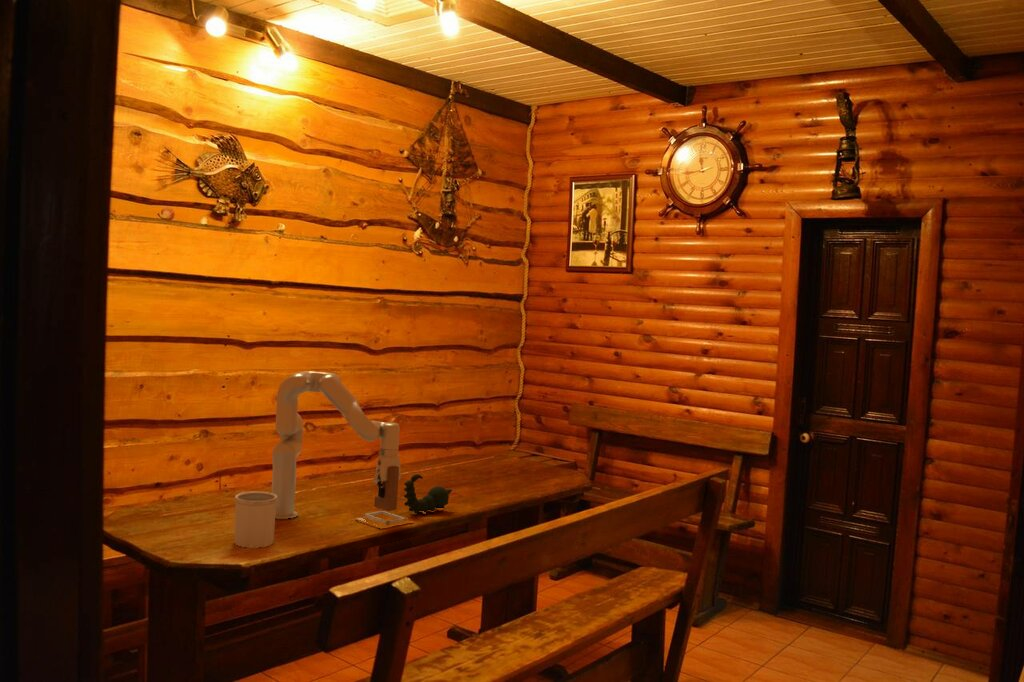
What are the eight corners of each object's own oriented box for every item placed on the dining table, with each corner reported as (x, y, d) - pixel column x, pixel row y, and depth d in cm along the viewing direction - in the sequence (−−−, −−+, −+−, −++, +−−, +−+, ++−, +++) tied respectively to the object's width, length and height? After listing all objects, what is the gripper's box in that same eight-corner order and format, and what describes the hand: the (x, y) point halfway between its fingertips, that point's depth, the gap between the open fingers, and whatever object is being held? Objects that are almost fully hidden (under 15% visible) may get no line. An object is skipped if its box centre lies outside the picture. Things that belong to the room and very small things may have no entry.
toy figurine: (413, 522, 362) (458, 510, 379) (412, 478, 361) (458, 468, 377) (400, 517, 369) (445, 505, 386) (399, 474, 367) (445, 464, 384)
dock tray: (380, 529, 341) (380, 523, 341) (355, 520, 351) (355, 514, 351) (413, 523, 354) (414, 517, 354) (388, 514, 365) (389, 509, 365)
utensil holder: (257, 551, 302) (260, 502, 301) (223, 544, 307) (226, 496, 306) (282, 541, 315) (285, 495, 315) (250, 535, 321) (252, 489, 320)
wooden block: (373, 507, 354) (376, 464, 353) (381, 505, 357) (384, 463, 356) (388, 511, 348) (391, 468, 347) (396, 509, 352) (399, 466, 351)
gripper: (379, 455, 343) (376, 500, 344) (410, 452, 356) (407, 495, 356) (367, 452, 348) (364, 496, 349) (398, 449, 361) (395, 492, 361)
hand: (386, 495), depth 353 cm, fingers closed on wooden block, 4 cm apart
